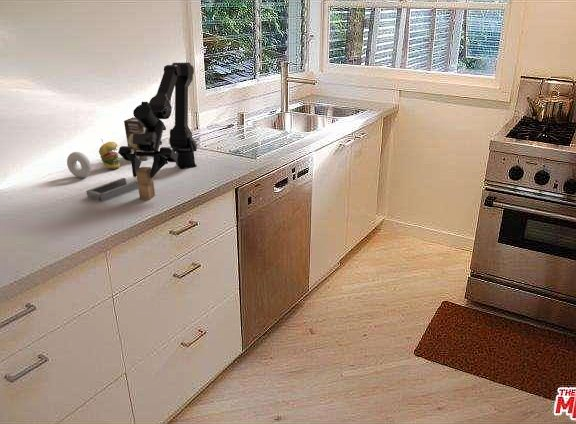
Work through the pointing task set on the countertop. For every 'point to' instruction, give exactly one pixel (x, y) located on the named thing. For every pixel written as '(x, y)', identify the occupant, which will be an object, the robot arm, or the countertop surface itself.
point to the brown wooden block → (145, 183)
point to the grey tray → (111, 190)
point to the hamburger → (109, 155)
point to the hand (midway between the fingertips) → (142, 177)
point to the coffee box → (134, 128)
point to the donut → (82, 160)
